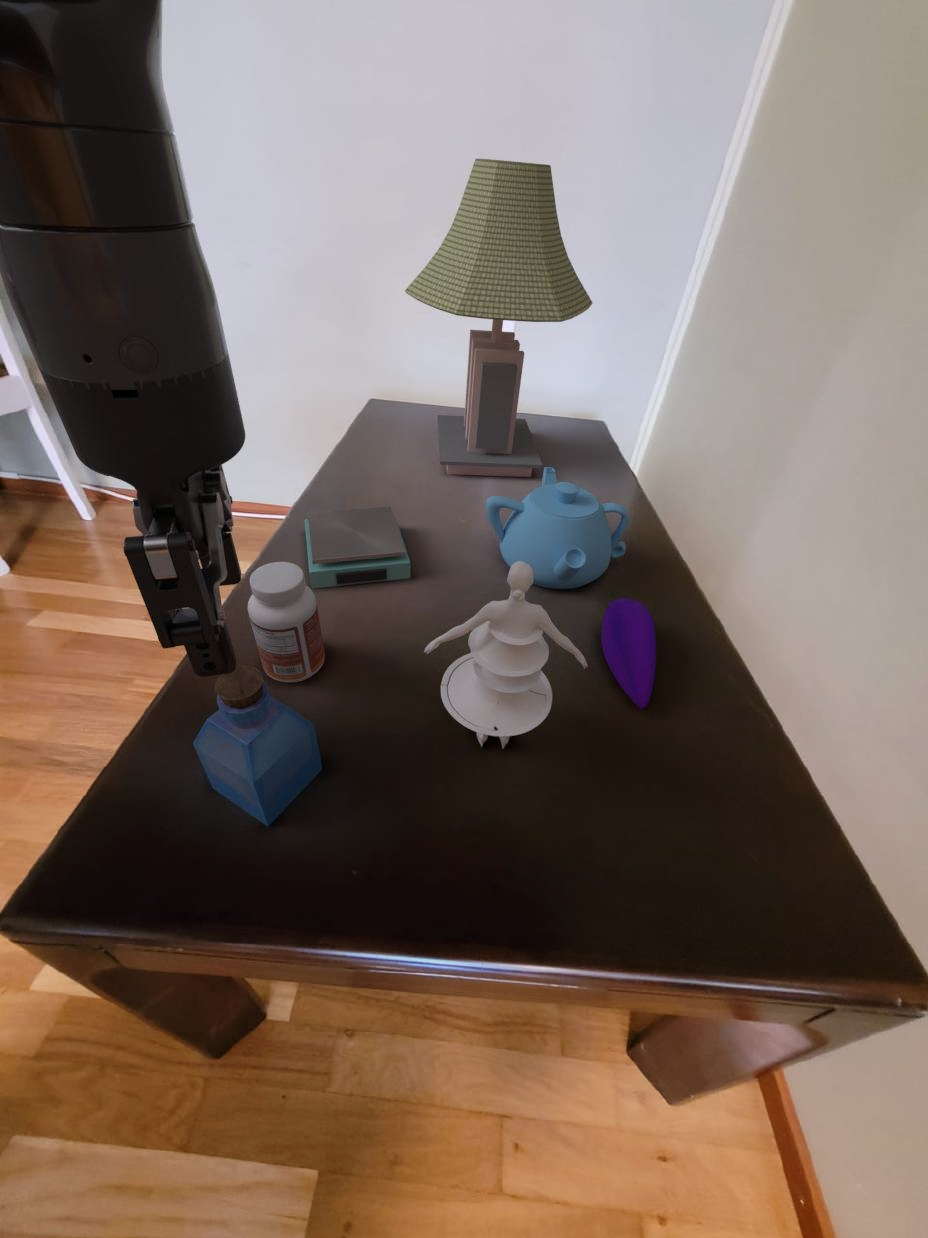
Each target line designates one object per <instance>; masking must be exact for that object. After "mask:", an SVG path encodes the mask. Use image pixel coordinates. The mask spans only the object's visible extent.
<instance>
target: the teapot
mask: <svg viewBox="0 0 928 1238" xmlns="http://www.w3.org/2000/svg"><path fill="white" fill-rule="evenodd" d="M501 509H509V510H511V511H512V512H511V513H510V515H509V516H508V518H507V520H506V521H505V524H504V527H503V524H502V522H501V516H500V510H501ZM485 513H486V517H487V519H488V522H489V523H490V526H491V527H492V529H493V531H494V533H495V534H496V536H497V538H498V539H499V550H500V554H501V556H502V559H503V560H504V561H505V563H506V564H507V566H508V567H509V569H510V568H511V566H512V565H513V564H514V563H516V562H518V561H523V562H525V563H527V564H528V565H530V566H531V568H532V569H533V584H532V585H535V586H538V587H542V588H546V589H552V590H572V589H576V588H581V587H584V586H585V585H587V584H589V583H591V582H594V581H595V580H597V579H598V578H600V577H601V576H602V575H603V574H604V573H605V572H606V571H607V569H608V568H609V565H610V562H611V559H619V558H621V557H623V556H624V555H625V553H626V550H627V546H626V543H625V542H624V541H623V540H621V538H622V537H623V535H624V534H625V532H626V531H627V529H628V525H629V524H630V523H629V522H630V515H629V512H628V510H627V509H626V507H624V506H623V505H621V504H619V503H616V502H604V503H603V504H600V501H599V500H598V498H596V496H595V495H594V494H592V493H591V492H589V491H588V490H585V489H584V488H581V487H580V486H578V485H577V484H575V483H573V482H569V481H560V482H558V479H557V475H556V470H555V469H554V467H553V466H552V467H550V466H548V467H547V466H544V467H543V473H542V480H541V485H540V486H538V487H536V488H534V489H533V490H531V492H530V493H528V494H527V495H526V496H525V497H524V498H523V499H522V500H521V501H519V500H516V499H513V498H510V497H507V496H503V495H491V496H490V497H488V498H487V499H486V502H485ZM605 513H607V514H608V513H616V514H619V515H620V516H621V517H620V521H619V523H618V525H617V526H616V528H615V530H614V532H613V533H612V532H611V529H610V526H609V522H608V519H607V517H606V514H605ZM611 533H612V534H611ZM617 547H618V548H617ZM615 548H616V549H615Z"/></svg>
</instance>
